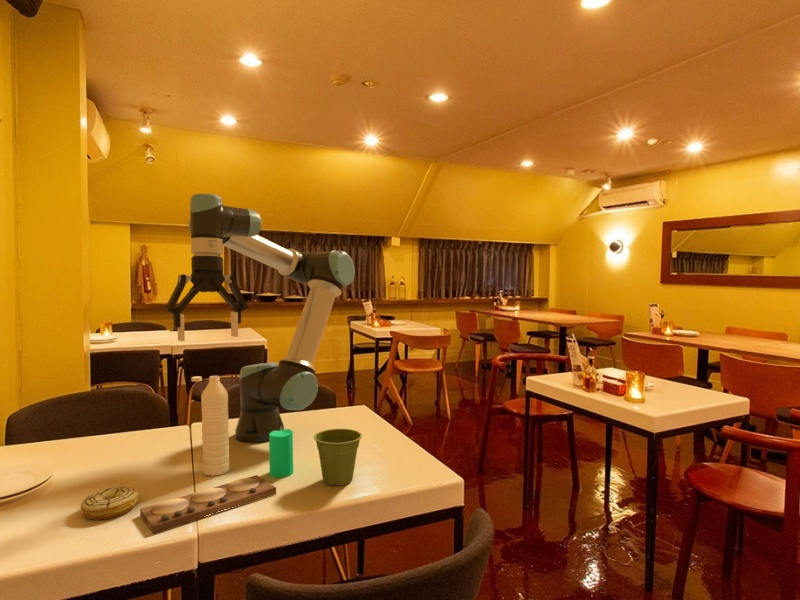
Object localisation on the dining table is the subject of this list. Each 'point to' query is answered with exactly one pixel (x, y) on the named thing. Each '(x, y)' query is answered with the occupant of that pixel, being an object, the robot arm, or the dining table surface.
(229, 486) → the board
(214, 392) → the water bottle
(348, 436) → the plant pot
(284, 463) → the candle
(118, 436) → the dining table surface
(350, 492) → the dining table surface
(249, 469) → the dining table surface
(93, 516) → the decorated donut
